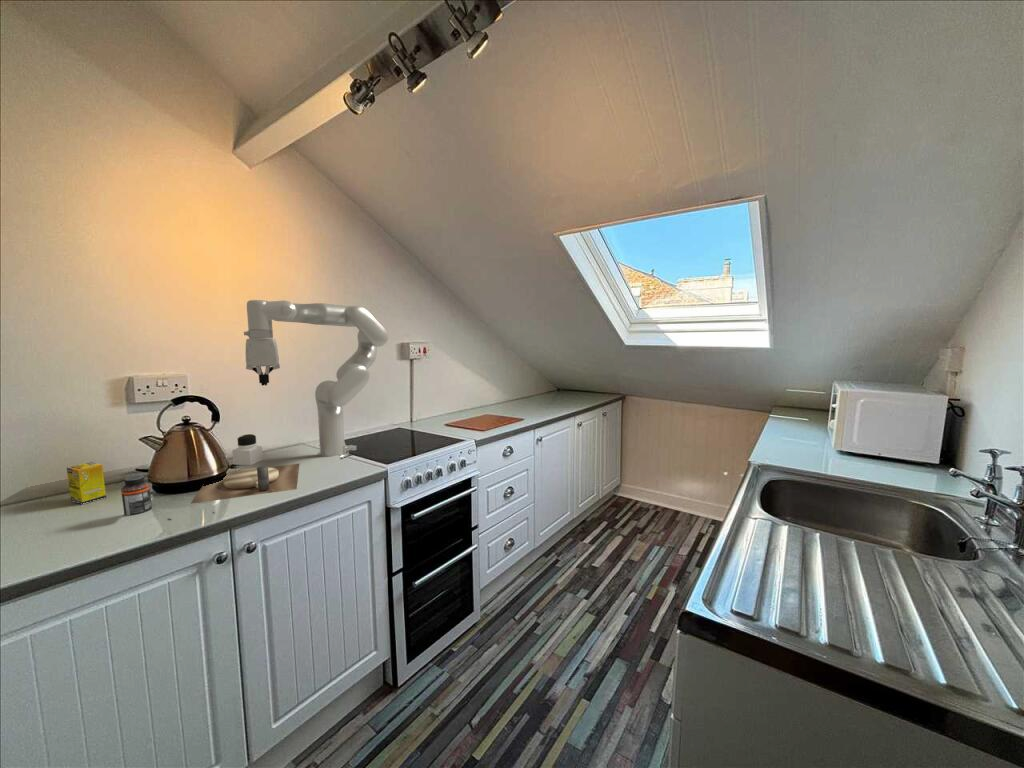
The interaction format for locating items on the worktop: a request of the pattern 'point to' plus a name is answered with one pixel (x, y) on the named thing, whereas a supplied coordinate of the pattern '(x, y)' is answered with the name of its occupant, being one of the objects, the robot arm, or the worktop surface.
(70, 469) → the supplement box
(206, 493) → the walnut board
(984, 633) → the worktop surface
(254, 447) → the medicine bottle
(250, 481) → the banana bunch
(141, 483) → the supplement bottle
